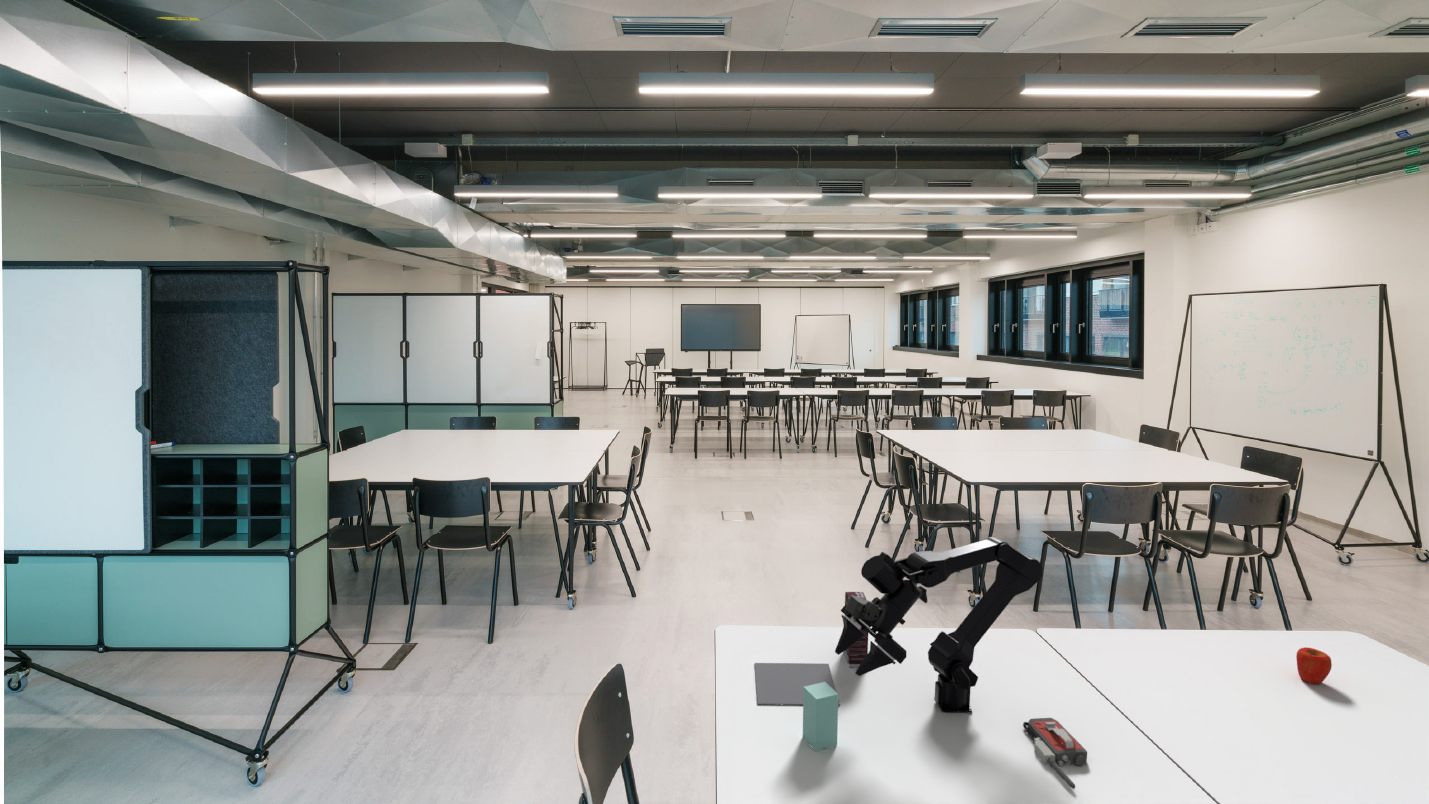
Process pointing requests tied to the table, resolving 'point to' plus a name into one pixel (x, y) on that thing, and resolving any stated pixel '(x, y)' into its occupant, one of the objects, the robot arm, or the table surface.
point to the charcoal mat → (788, 681)
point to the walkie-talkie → (1055, 745)
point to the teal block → (820, 715)
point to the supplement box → (860, 647)
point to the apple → (1313, 665)
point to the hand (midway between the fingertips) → (846, 663)
